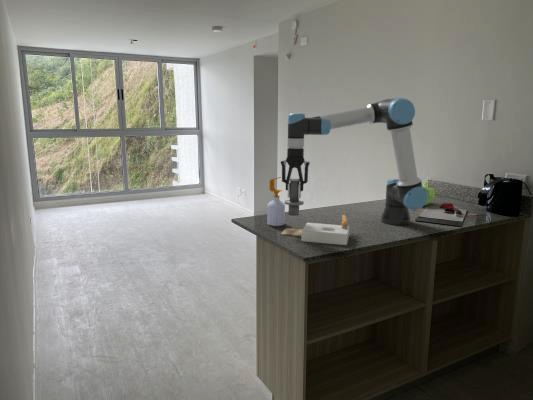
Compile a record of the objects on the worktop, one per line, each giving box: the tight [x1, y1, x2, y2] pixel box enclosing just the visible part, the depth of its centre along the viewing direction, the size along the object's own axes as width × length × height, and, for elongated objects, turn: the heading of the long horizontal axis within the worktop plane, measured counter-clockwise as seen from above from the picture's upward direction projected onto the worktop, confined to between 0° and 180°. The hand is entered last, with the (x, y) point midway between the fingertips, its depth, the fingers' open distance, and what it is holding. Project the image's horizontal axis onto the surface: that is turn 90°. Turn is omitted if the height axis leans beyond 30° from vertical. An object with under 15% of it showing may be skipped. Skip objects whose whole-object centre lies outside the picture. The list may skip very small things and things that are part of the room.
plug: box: [284, 177, 305, 217], centre depth 193 cm, size 9×9×17 cm
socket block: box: [300, 222, 350, 246], centre depth 187 cm, size 20×14×6 cm
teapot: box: [422, 181, 437, 207], centre depth 263 cm, size 19×20×14 cm
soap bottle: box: [266, 176, 286, 227], centre depth 209 cm, size 9×9×25 cm
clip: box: [341, 214, 348, 226], centre depth 192 cm, size 15×3×1 cm, turn 171°
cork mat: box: [280, 227, 303, 237], centre depth 196 cm, size 10×10×1 cm
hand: (294, 197), depth 193 cm, fingers closed on plug, 4 cm apart
